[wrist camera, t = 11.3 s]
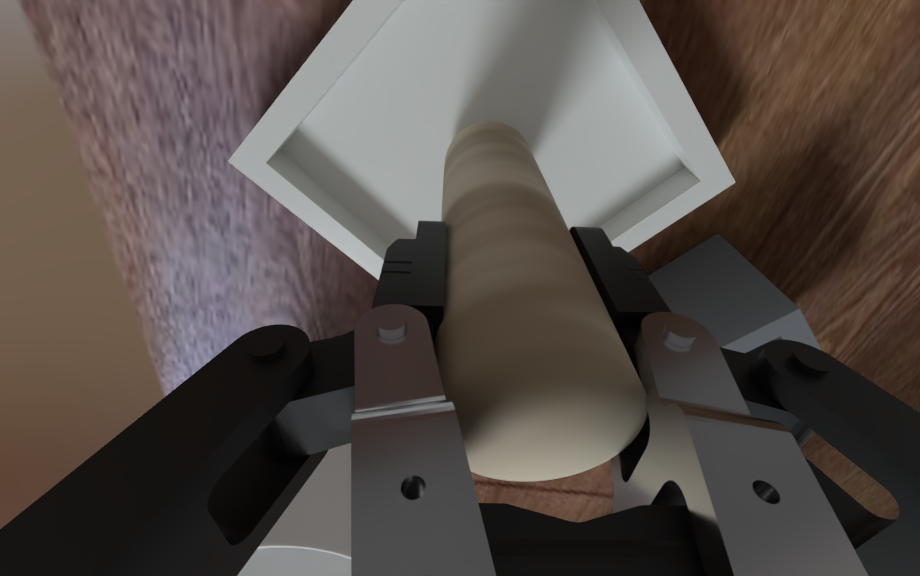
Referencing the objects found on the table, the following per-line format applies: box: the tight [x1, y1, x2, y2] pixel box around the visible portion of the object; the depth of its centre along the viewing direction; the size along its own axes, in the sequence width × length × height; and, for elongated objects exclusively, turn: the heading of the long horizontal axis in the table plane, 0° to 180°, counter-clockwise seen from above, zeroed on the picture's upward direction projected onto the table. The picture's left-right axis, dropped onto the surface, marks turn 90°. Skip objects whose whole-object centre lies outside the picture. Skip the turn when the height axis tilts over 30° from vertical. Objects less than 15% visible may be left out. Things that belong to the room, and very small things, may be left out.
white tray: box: [228, 0, 736, 280], centre depth 17 cm, size 14×14×2 cm
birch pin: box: [434, 121, 648, 481], centre depth 12 cm, size 4×4×12 cm
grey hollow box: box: [648, 233, 822, 356], centre depth 21 cm, size 8×8×6 cm
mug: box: [237, 443, 351, 576], centre depth 24 cm, size 12×8×10 cm
